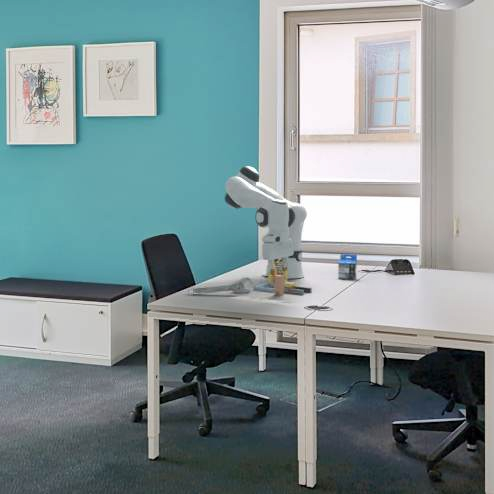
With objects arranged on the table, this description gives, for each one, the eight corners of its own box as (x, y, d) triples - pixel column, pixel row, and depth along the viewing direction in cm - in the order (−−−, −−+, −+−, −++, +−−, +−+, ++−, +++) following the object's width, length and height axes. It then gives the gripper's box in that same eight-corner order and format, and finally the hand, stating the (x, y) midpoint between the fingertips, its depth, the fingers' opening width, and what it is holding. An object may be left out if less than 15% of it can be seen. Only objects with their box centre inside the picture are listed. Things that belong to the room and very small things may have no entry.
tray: (253, 293, 328) (253, 286, 328) (267, 289, 338) (267, 283, 337) (273, 295, 322) (273, 289, 321) (287, 291, 331) (287, 285, 331)
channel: (274, 295, 322) (274, 287, 322) (286, 292, 331) (286, 284, 330) (301, 298, 314) (301, 290, 314) (312, 295, 323) (312, 287, 322)
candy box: (284, 284, 350) (284, 253, 348) (287, 286, 346) (287, 254, 344) (267, 286, 347) (267, 254, 345) (270, 287, 343) (270, 255, 341)
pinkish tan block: (273, 298, 315) (273, 275, 314) (278, 296, 319) (279, 274, 318) (279, 299, 314) (279, 276, 313) (284, 297, 317) (284, 275, 316)
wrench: (189, 300, 326) (254, 293, 324) (188, 301, 324) (254, 294, 322) (187, 283, 325) (252, 276, 323) (186, 283, 324) (252, 276, 321)
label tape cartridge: (337, 278, 369) (338, 254, 367) (339, 277, 372) (340, 253, 371) (354, 279, 366) (355, 255, 364) (356, 278, 369) (357, 254, 368)
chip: (283, 291, 323) (283, 282, 323) (288, 290, 326) (288, 281, 326) (291, 292, 321) (291, 283, 320) (296, 291, 324) (296, 282, 323)
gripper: (285, 234, 323) (285, 264, 325) (259, 238, 307) (259, 270, 308) (297, 235, 320) (296, 265, 321) (272, 239, 303) (271, 271, 305)
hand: (278, 267), depth 315 cm, fingers open, 8 cm apart
